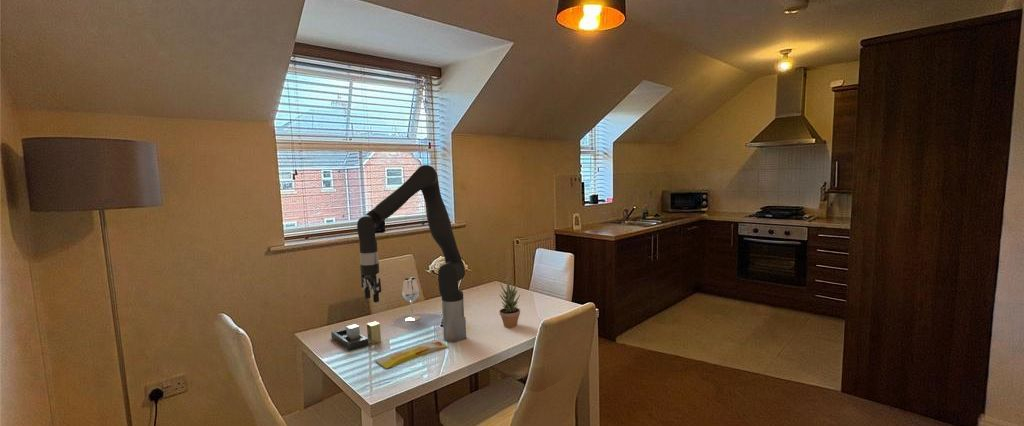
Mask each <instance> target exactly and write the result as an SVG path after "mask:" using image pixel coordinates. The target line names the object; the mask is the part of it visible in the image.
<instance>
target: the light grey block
mask: <svg viewBox="0 0 1024 426" xmlns="http://www.w3.org/2000/svg"><path fill="white" fill-rule="evenodd" d="M345 328H346V332H347V341H349V342H350V341H354V340H357V339H360V334H361V333H360V329H361V328H360V326H359V325H358V324H356V323H354V324H351V325H346V326H345Z"/></svg>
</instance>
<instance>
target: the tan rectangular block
mask: <svg viewBox="0 0 1024 426" xmlns="http://www.w3.org/2000/svg"><path fill="white" fill-rule="evenodd" d="M366 330H367V331H366V332H367V338H368V342H369V344H371V345H374V344H378V343H381V342H382V337H381V336H382V334H381V324H380V323H379V322H378V321H372V322H367V323H366Z"/></svg>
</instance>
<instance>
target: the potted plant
mask: <svg viewBox="0 0 1024 426" xmlns="http://www.w3.org/2000/svg"><path fill="white" fill-rule="evenodd" d="M505 281H506V290H505V289H504V287H503V285H502V283H500V284H499V285H500V287H501V289H502V292H501V294H502V295H501V294H499V296H500V298H501V299H502V301H501V303H502V307H503V308H500V310H499V312H498V313H499V316H500V317H501V320H502V323H503V327H504V328H507V329H513V328H516V327H517V326H518V322H519V318H520V317H519V316H520V315H521V309H520V308H518V306H519V305H517V304H518V303H519V298H520V296H521V294H519V295H518V297H517V298H516V296H517V294H518V290H517V284H515V286H514V285H513V284H514V283H513V281H512V282H511V287H510V282H509V281H510V280H509V275H508V274H507V273H506V274H505ZM515 298H516V299H515Z"/></svg>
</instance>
